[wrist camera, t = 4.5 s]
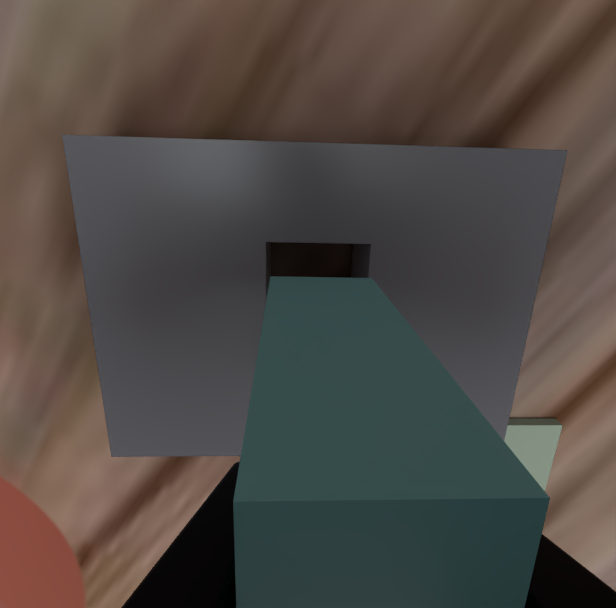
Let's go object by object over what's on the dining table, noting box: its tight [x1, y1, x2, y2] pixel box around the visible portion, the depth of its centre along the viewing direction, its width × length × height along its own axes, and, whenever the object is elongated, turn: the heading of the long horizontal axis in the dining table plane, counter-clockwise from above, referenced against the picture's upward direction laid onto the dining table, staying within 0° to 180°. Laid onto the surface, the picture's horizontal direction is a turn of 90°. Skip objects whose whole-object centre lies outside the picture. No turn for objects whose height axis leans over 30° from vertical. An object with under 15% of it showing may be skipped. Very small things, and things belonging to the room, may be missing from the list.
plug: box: [233, 276, 550, 608], centre depth 9 cm, size 3×5×9 cm, turn 178°
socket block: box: [62, 135, 567, 457], centre depth 17 cm, size 16×12×4 cm
